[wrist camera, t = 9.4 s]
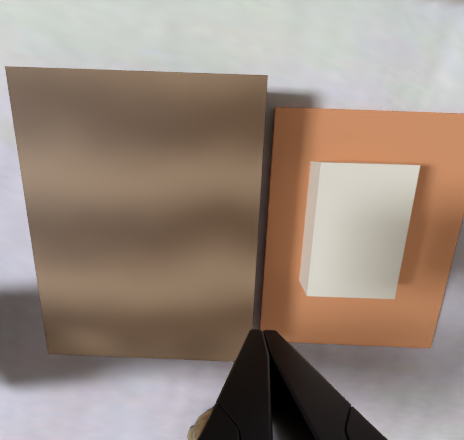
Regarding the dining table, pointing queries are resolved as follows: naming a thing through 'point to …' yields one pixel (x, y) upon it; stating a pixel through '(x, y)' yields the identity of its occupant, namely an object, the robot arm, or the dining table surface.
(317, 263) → the white rectangular block
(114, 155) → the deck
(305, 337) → the mat
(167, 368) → the dining table surface
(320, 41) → the dining table surface
